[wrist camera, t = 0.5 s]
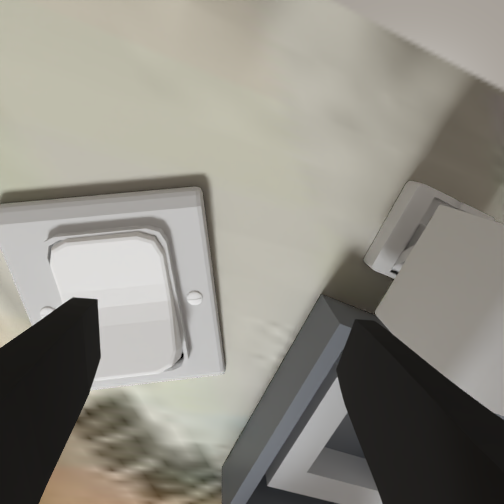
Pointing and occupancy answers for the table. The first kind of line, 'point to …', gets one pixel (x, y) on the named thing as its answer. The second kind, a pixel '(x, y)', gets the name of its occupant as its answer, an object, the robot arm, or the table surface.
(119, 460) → the table surface
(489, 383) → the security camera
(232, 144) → the table surface
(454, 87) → the table surface
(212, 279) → the light switch
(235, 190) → the table surface
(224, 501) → the walled box
